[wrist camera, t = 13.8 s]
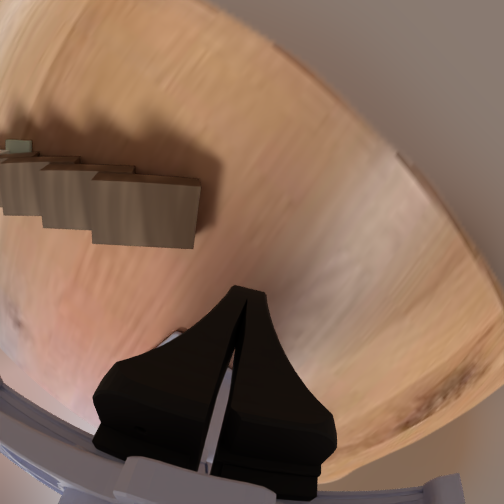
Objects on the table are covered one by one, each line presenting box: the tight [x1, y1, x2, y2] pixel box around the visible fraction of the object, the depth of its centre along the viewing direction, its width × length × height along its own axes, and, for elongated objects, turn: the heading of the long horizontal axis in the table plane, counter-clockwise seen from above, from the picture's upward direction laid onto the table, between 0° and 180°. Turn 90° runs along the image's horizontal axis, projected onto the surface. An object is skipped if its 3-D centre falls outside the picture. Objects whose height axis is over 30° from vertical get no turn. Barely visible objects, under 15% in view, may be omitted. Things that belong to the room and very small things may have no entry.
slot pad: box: [6, 139, 32, 154], centre depth 21 cm, size 4×6×1 cm, turn 169°
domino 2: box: [0, 156, 80, 216], centre depth 19 cm, size 2×4×7 cm
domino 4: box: [91, 173, 201, 249], centre depth 19 cm, size 2×4×7 cm
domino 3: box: [39, 164, 135, 230], centre depth 19 cm, size 2×4×7 cm
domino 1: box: [0, 152, 39, 207], centre depth 19 cm, size 2×4×7 cm
